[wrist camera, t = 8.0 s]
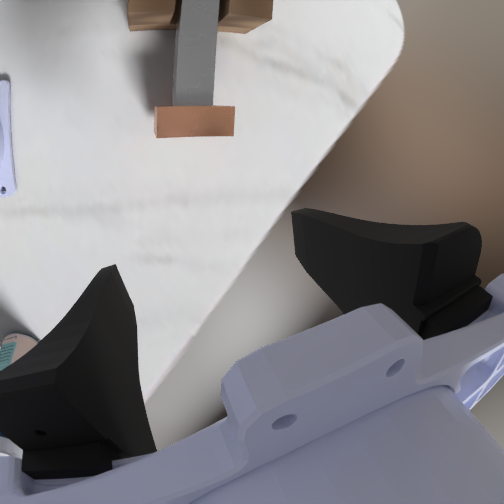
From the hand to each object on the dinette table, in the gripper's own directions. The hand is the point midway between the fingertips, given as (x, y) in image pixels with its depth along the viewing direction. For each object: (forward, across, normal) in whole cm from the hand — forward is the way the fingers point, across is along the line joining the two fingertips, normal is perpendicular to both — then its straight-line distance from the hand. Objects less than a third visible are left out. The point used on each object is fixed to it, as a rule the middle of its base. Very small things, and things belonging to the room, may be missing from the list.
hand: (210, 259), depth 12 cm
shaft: (+9, -2, -9) cm, 13 cm away
